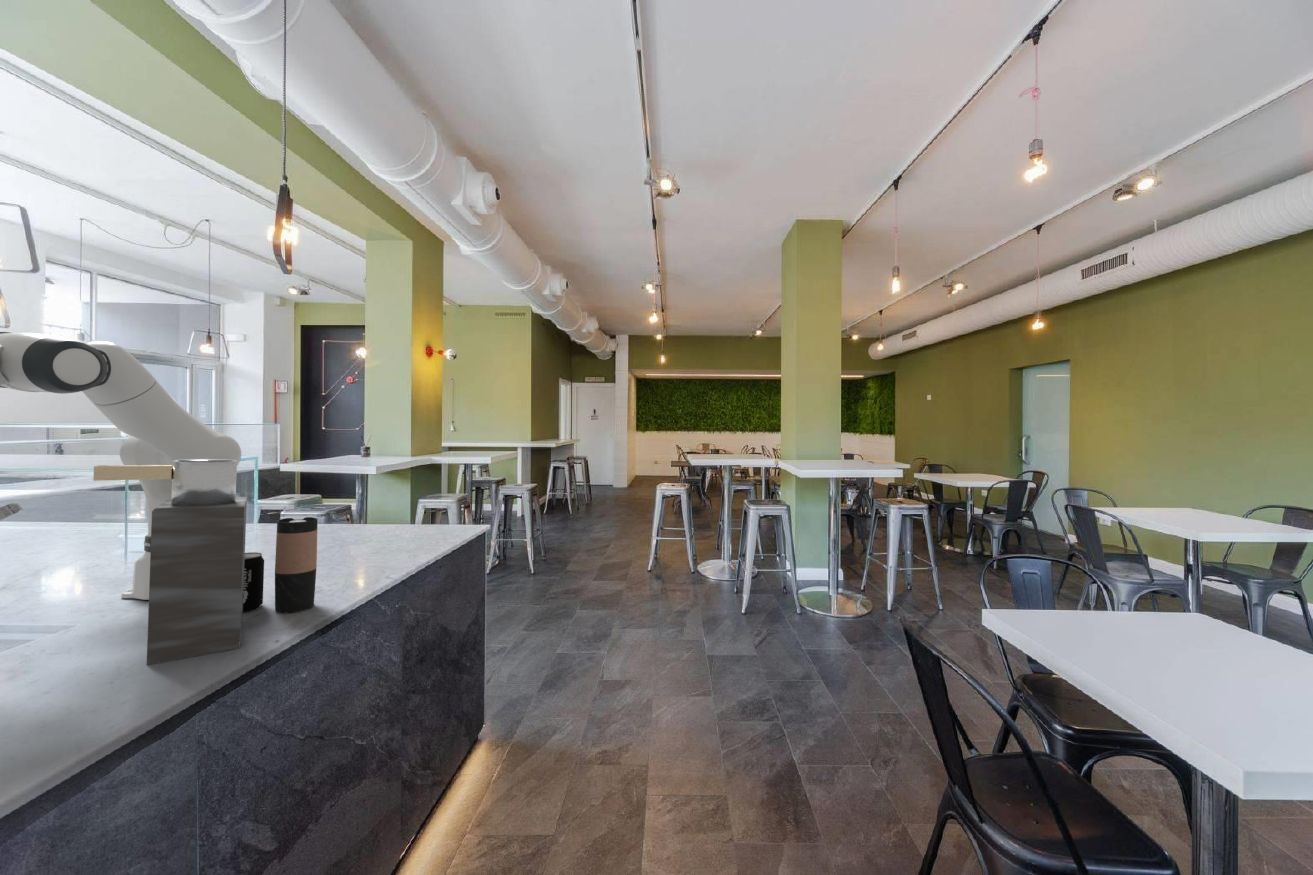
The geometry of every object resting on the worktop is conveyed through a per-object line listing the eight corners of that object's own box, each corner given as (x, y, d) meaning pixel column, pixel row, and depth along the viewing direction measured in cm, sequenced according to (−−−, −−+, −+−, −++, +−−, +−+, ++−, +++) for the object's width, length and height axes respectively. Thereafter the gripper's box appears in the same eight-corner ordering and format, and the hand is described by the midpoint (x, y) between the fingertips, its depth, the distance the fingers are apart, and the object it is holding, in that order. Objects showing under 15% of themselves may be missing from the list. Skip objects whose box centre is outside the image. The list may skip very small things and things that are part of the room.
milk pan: (101, 504, 89) (102, 458, 89) (236, 499, 100) (238, 458, 100) (87, 511, 82) (88, 461, 82) (234, 504, 93) (236, 461, 93)
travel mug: (293, 615, 108) (296, 523, 108) (264, 611, 110) (267, 521, 110) (323, 604, 115) (326, 518, 116) (296, 600, 117) (298, 516, 117)
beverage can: (269, 607, 112) (270, 554, 112) (234, 616, 106) (236, 560, 107) (252, 602, 115) (254, 550, 115) (218, 610, 109) (219, 556, 109)
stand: (162, 633, 96) (166, 499, 96) (242, 621, 104) (246, 497, 104) (146, 664, 84) (152, 511, 84) (239, 648, 91) (244, 506, 91)
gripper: (-199, 559, 63) (-40, 500, 70) (-104, 533, 79) (17, 487, 86) (-156, 598, 65) (-6, 537, 72) (-72, 565, 81) (44, 517, 88)
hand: (7, 509), depth 79 cm, fingers open, 8 cm apart
